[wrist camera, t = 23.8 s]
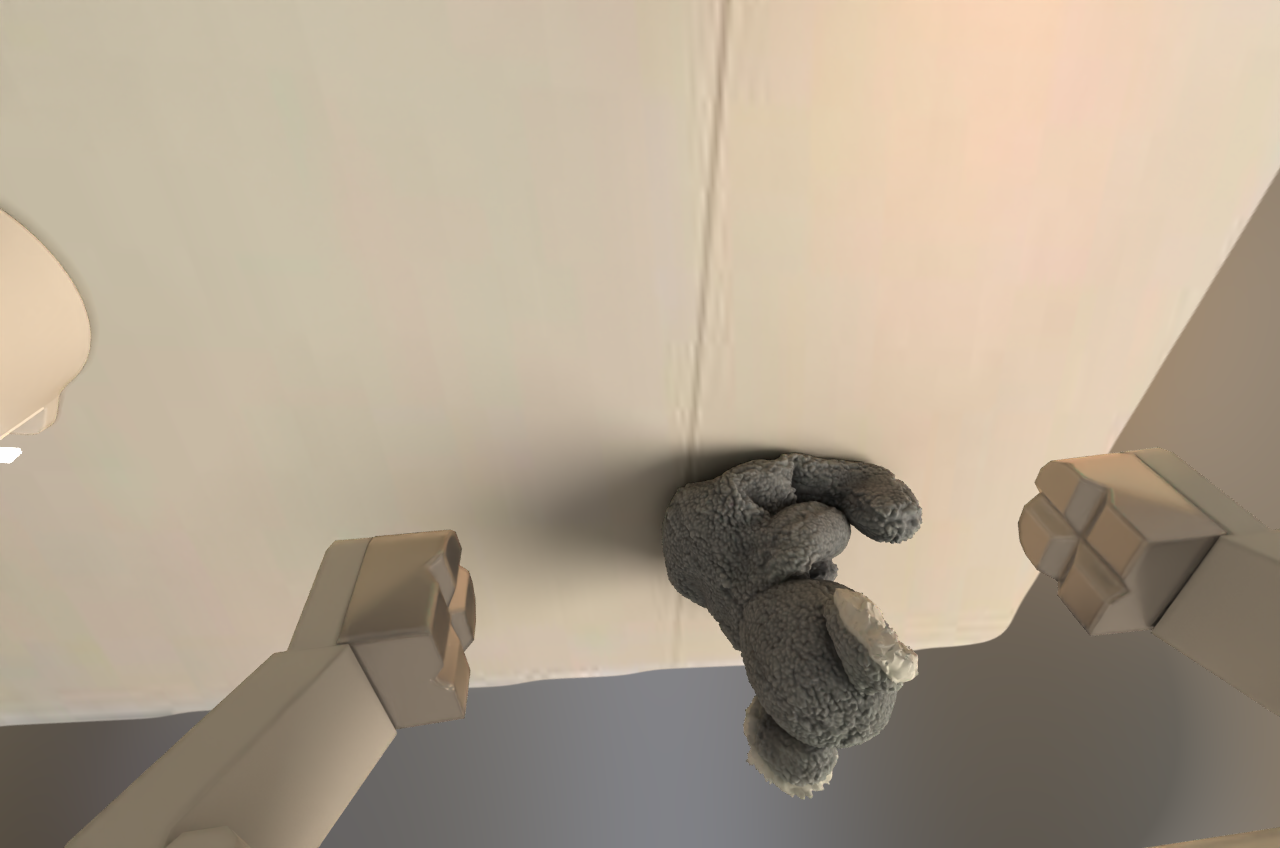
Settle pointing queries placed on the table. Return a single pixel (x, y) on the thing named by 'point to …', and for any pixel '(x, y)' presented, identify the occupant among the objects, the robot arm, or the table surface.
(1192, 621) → the robot arm
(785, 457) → the koala plush
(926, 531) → the table surface
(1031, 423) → the table surface
